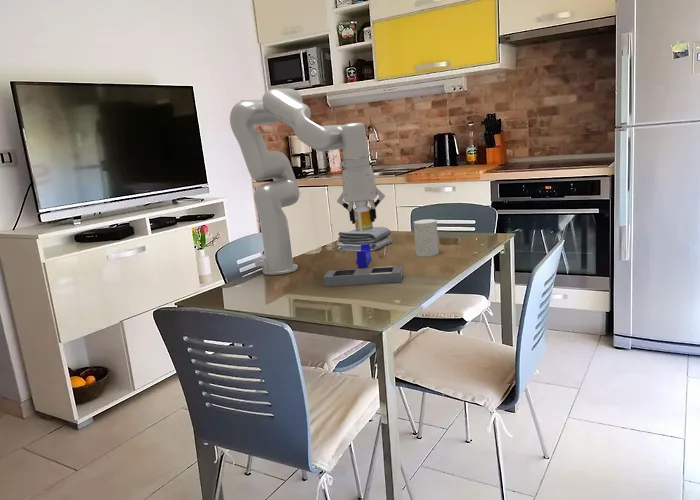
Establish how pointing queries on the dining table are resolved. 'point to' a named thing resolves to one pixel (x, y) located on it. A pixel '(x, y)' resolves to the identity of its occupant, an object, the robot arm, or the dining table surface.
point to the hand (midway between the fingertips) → (363, 221)
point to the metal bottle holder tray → (363, 276)
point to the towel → (364, 239)
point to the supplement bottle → (362, 217)
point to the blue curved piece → (363, 256)
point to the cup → (426, 237)
